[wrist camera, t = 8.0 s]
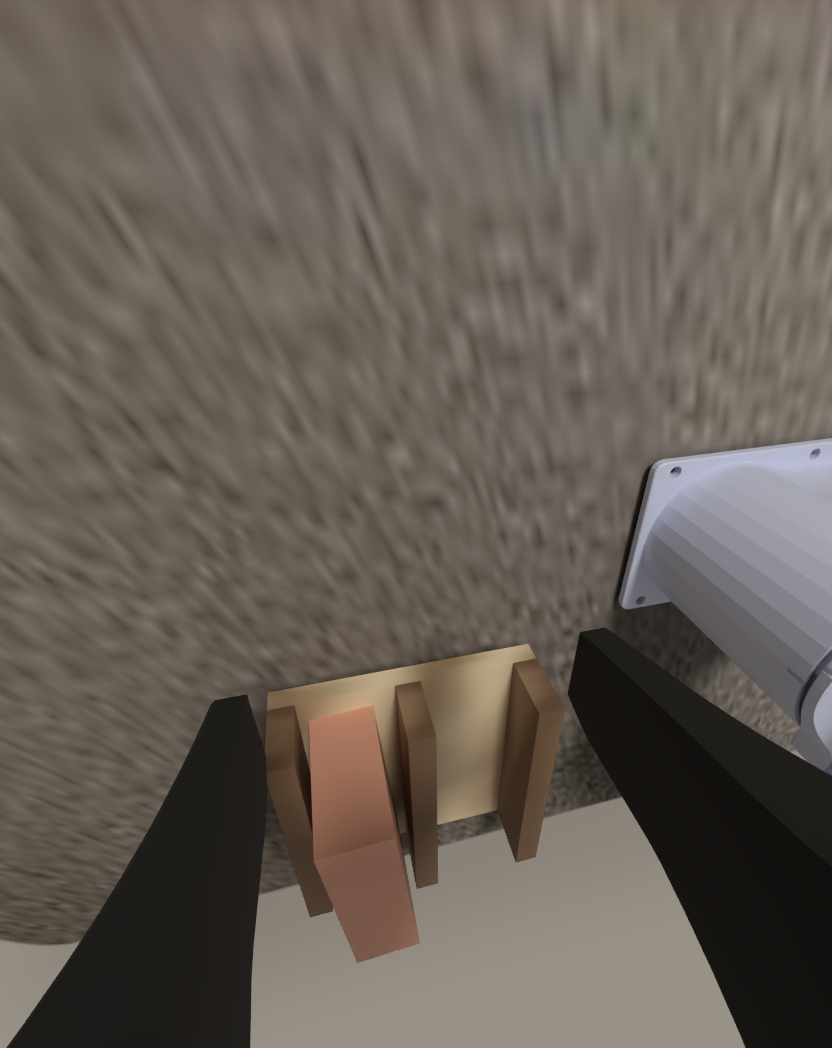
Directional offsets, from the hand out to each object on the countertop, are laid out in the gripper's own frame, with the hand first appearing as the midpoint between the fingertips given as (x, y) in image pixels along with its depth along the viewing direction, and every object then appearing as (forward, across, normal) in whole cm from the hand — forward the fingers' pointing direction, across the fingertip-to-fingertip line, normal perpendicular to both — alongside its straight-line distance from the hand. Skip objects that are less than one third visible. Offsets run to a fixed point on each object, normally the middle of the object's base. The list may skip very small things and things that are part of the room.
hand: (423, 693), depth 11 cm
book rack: (+9, -1, +16) cm, 19 cm away
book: (+8, +2, +16) cm, 18 cm away
